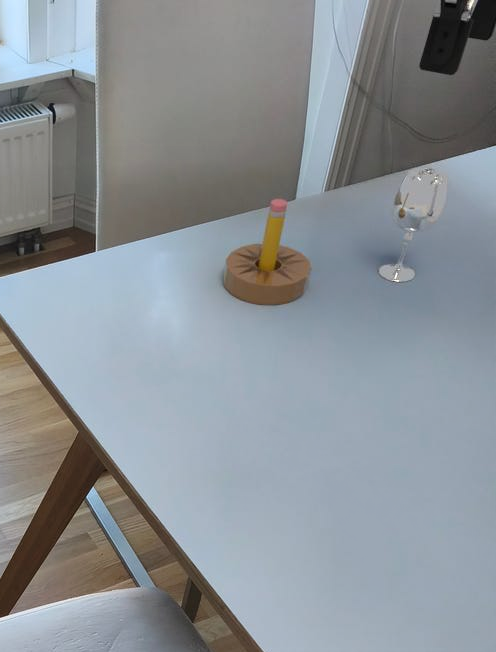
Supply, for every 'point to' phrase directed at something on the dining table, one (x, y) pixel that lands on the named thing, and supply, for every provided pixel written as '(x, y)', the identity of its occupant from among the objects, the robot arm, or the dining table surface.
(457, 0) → the robot arm
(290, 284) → the brown sunburst ring
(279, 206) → the pencil
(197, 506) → the dining table surface
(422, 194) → the wineglass
